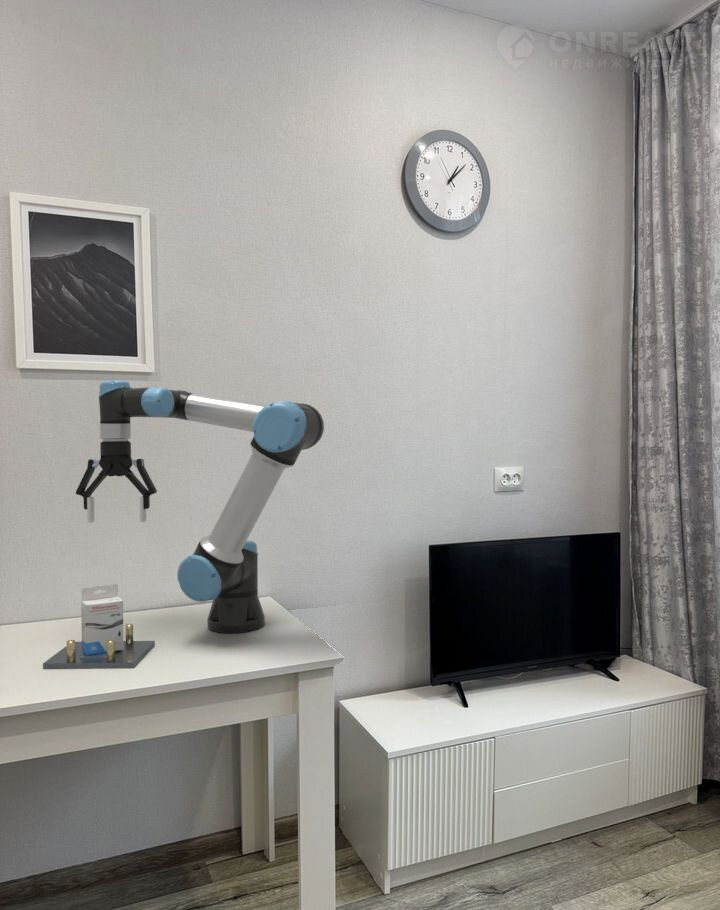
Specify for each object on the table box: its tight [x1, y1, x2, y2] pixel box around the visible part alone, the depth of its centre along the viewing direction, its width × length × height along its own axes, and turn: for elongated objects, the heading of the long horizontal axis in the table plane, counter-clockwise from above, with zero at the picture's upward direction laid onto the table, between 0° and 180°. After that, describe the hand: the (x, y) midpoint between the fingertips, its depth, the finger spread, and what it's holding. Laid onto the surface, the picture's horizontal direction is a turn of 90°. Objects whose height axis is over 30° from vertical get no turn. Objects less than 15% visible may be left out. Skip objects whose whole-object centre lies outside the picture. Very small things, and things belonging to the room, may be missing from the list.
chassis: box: [42, 623, 156, 670], centre depth 160 cm, size 20×16×6 cm
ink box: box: [80, 583, 124, 655], centre depth 160 cm, size 8×5×15 cm, turn 123°
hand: (117, 521), depth 181 cm, fingers open, 13 cm apart
